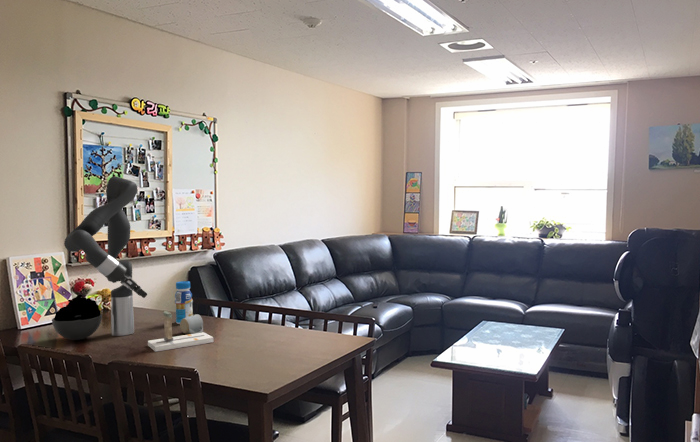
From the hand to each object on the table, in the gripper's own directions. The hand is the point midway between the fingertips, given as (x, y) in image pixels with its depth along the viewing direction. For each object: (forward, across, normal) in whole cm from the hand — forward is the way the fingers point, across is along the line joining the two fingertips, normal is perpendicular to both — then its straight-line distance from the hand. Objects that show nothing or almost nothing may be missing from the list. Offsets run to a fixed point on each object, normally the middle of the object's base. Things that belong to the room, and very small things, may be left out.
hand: (143, 295), depth 235 cm
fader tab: (+21, 0, +8) cm, 22 cm away
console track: (+26, 0, +6) cm, 26 cm away
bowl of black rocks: (+2, +37, +30) cm, 48 cm away
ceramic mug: (+34, +17, -2) cm, 38 cm away
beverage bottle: (+36, +41, -4) cm, 54 cm away
